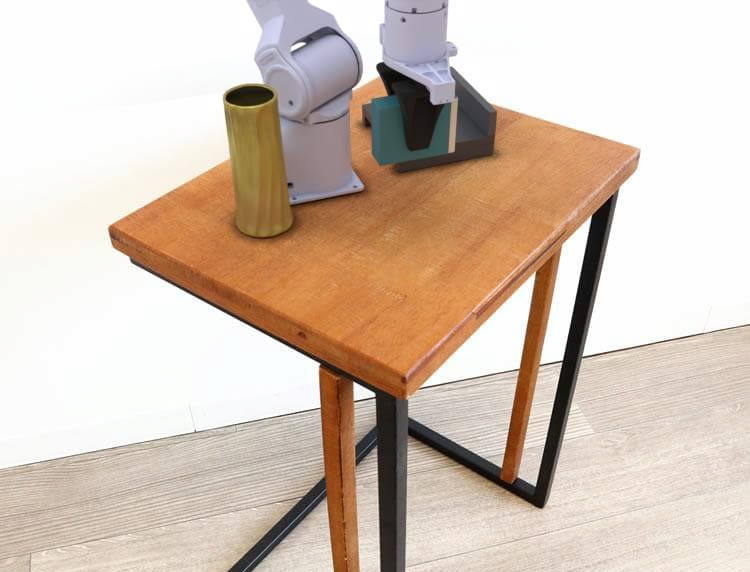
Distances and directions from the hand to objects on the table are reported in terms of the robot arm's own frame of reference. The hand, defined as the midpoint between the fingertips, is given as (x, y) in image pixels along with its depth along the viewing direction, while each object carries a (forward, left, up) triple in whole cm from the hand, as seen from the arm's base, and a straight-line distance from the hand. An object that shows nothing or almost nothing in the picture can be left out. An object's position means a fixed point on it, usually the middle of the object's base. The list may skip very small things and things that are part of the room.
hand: (412, 141), depth 84 cm
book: (0, 0, -1) cm, 1 cm away
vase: (-15, +4, -9) cm, 18 cm away
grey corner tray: (+8, +15, -9) cm, 19 cm away
